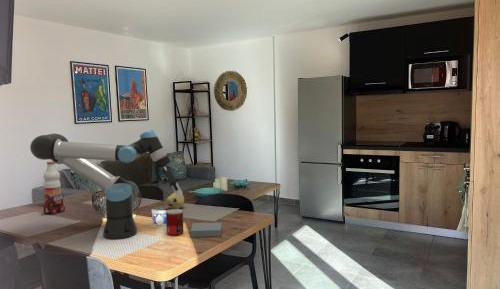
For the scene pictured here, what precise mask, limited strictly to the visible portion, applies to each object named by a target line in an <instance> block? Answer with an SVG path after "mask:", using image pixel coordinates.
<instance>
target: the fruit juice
mask: <svg viewBox="0 0 500 289" xmlns="http://www.w3.org/2000/svg"><path fill="white" fill-rule="evenodd" d="M46 166H47V167H46V170H45V172H44V173H43V180H44V182H43V196H44V198H43V199H44V203H45V202H46V200H48V197H49V196H51V197H52V196H55V195H59V194H62V185H61V181H60V178H61V174H60V172H59V171H58V170H57V167H56V163H55V162H54V161H52V160H50V161H47V162H46Z"/></svg>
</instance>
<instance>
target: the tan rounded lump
mask: <svg viewBox="0 0 500 289" xmlns="http://www.w3.org/2000/svg"><path fill="white" fill-rule="evenodd" d="M164 202H165V204H166V205H167V206H168V207H169V210H171V209H180V208H181V207H184V204H185V196H184V195H182V196H180V197H177V195H176V193H175V191H174V192H172V193H171V194H170V195H169V196H167V197H165V199H164Z"/></svg>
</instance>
